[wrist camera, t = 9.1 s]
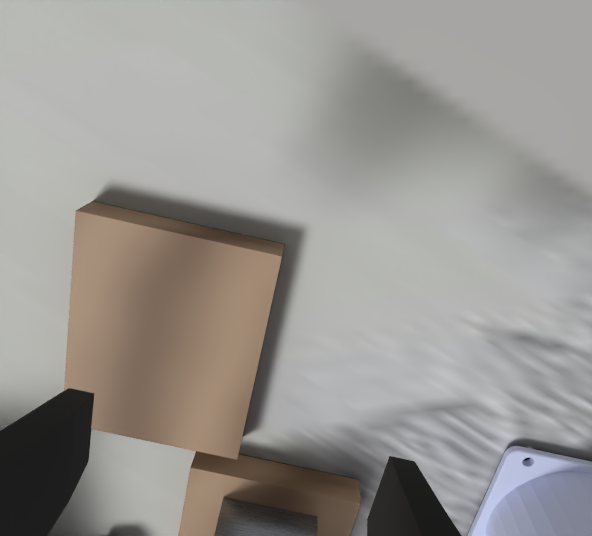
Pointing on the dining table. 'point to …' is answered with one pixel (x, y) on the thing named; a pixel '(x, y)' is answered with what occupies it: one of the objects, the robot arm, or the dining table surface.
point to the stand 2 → (267, 493)
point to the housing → (262, 520)
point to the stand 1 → (167, 326)
